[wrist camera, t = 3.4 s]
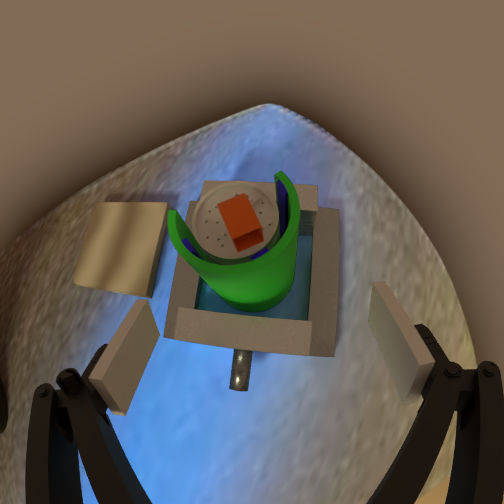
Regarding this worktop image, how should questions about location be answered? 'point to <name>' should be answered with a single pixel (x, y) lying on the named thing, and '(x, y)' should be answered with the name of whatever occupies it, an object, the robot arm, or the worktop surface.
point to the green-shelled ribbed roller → (243, 241)
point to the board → (123, 247)
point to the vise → (262, 328)
